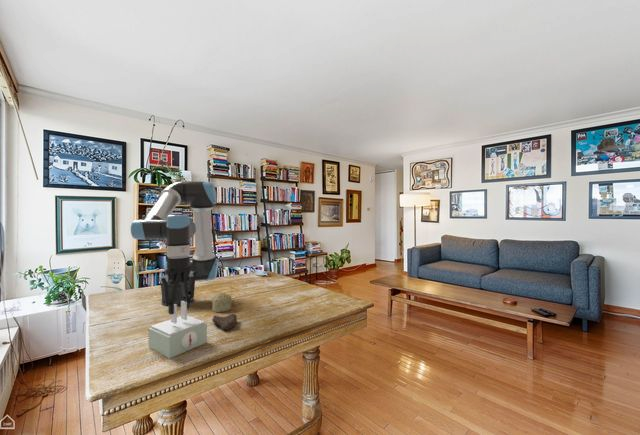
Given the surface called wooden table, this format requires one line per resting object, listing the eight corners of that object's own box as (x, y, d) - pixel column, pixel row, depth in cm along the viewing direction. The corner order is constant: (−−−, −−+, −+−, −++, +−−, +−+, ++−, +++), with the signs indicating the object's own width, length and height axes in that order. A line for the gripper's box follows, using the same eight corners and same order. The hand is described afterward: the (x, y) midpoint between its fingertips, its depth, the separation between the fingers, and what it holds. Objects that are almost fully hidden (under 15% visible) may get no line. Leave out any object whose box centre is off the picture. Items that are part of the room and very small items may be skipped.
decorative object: (232, 316, 138) (238, 297, 144) (220, 310, 131) (227, 290, 136) (216, 316, 141) (223, 297, 147) (204, 309, 133) (212, 289, 139)
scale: (148, 347, 100) (148, 325, 99) (185, 333, 111) (185, 314, 111) (170, 359, 91) (170, 335, 91) (208, 342, 103) (208, 322, 103)
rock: (212, 322, 122) (212, 314, 122) (236, 320, 125) (237, 312, 125) (209, 332, 111) (209, 323, 111) (236, 330, 114) (236, 321, 114)
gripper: (161, 260, 92) (161, 330, 92) (204, 254, 106) (204, 315, 106) (149, 258, 96) (150, 325, 97) (193, 253, 110) (193, 312, 110)
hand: (178, 320), depth 101 cm, fingers open, 3 cm apart
